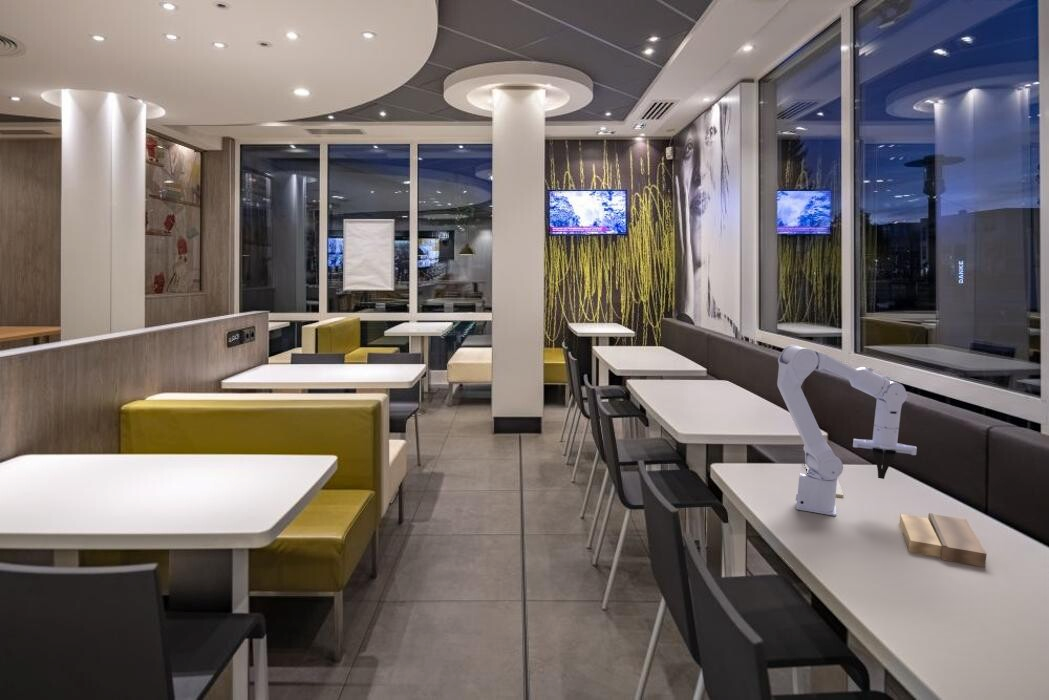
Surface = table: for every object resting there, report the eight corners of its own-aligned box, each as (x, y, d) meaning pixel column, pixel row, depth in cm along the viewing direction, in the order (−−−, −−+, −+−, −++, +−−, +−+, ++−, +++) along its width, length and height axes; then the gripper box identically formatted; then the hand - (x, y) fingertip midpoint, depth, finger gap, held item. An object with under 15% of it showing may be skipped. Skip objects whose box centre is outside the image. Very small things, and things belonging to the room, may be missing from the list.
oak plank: (909, 553, 152) (910, 540, 151) (899, 525, 170) (900, 513, 170) (940, 558, 149) (941, 545, 149) (926, 529, 168) (927, 518, 167)
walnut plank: (941, 559, 148) (943, 545, 147) (927, 525, 170) (928, 512, 169) (984, 567, 145) (986, 553, 144) (964, 531, 166) (966, 518, 166)
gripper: (855, 425, 175) (850, 476, 176) (920, 433, 169) (914, 486, 170) (854, 421, 181) (850, 470, 182) (916, 428, 175) (911, 479, 176)
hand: (880, 477), depth 177 cm, fingers closed
